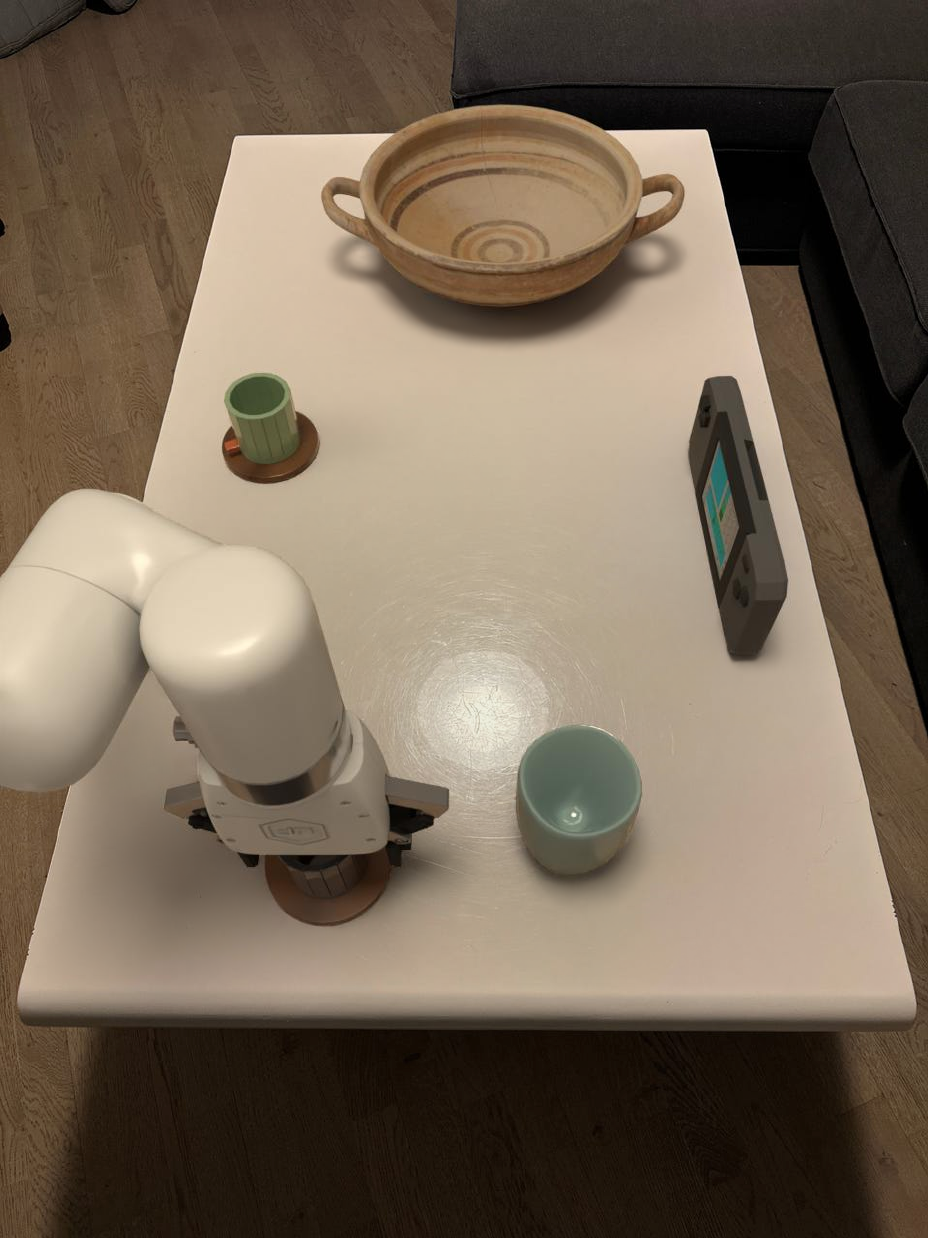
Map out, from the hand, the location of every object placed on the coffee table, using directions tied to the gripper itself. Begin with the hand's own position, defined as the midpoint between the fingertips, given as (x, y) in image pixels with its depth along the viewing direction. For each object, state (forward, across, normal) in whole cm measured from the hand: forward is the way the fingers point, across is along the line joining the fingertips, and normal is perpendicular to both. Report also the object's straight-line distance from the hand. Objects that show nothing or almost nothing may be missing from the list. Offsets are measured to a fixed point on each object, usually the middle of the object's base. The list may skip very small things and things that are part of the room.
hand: (326, 846), depth 64 cm
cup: (+4, +17, +2) cm, 17 cm away
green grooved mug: (+3, -9, +40) cm, 41 cm away
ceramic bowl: (+4, +13, +67) cm, 68 cm away
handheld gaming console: (+4, +31, +28) cm, 42 cm away
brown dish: (+3, -9, +40) cm, 41 cm away
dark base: (+4, 0, 0) cm, 4 cm away
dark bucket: (+4, 0, 0) cm, 4 cm away
